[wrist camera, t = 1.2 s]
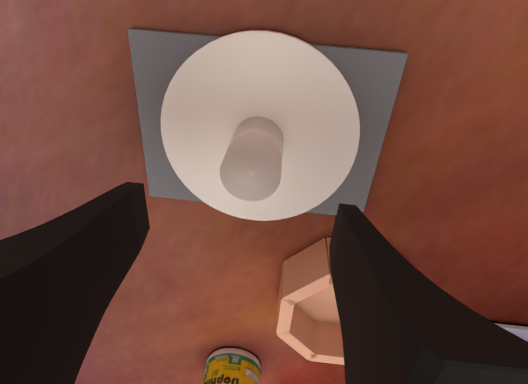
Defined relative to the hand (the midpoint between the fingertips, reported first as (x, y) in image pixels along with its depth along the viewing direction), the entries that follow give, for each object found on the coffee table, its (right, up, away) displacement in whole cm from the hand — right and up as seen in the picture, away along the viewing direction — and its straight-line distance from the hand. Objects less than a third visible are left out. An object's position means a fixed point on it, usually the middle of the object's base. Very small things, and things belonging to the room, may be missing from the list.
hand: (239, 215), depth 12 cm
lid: (+1, +4, +7) cm, 8 cm away
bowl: (+7, -6, +13) cm, 16 cm away
